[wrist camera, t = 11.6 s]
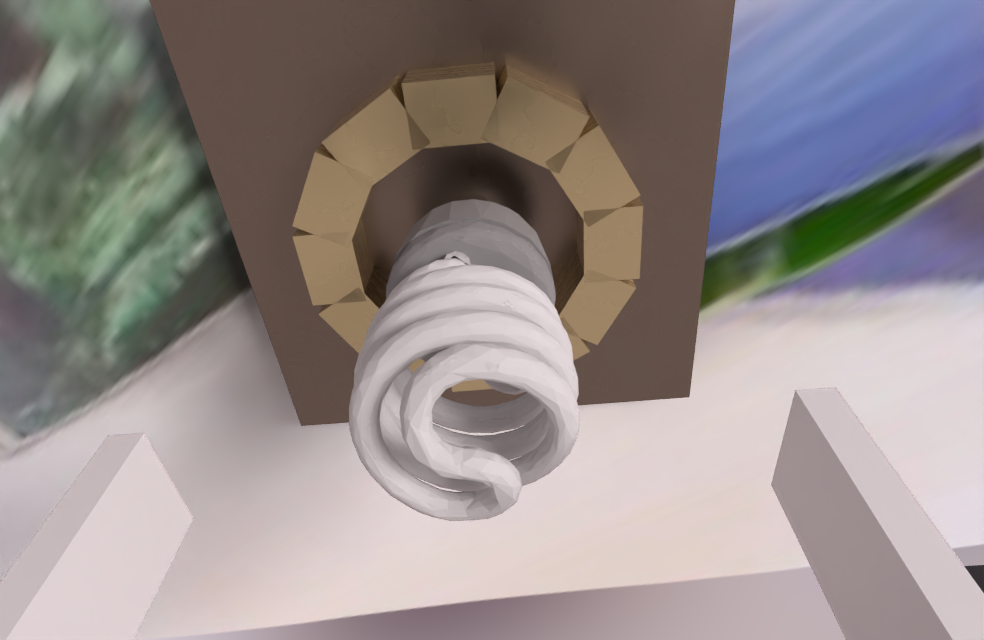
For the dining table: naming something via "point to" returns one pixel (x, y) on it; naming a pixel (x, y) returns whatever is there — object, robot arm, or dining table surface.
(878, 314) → the dining table surface
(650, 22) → the lamp base
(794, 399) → the robot arm
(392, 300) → the light bulb
